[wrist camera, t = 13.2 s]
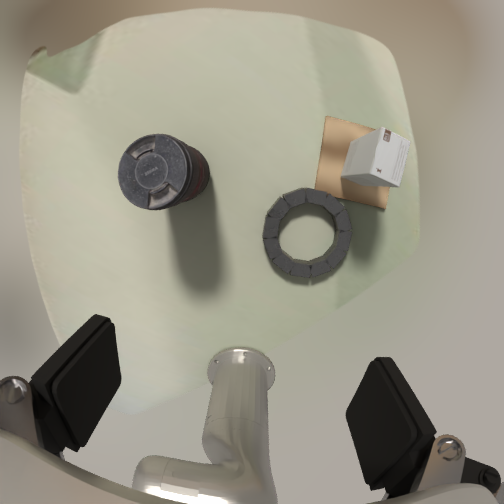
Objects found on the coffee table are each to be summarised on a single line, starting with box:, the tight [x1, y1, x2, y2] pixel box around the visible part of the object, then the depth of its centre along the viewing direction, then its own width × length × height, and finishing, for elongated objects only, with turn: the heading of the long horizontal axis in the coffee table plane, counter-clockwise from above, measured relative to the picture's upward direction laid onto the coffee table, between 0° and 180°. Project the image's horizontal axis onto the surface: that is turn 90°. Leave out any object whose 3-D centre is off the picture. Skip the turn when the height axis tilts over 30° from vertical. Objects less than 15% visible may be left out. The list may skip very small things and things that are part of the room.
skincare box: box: [341, 127, 410, 187], centre depth 32 cm, size 6×4×12 cm
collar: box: [263, 188, 352, 278], centre depth 40 cm, size 13×13×2 cm
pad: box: [315, 116, 390, 209], centre depth 38 cm, size 12×12×1 cm
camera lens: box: [118, 134, 210, 210], centre depth 32 cm, size 8×8×15 cm
